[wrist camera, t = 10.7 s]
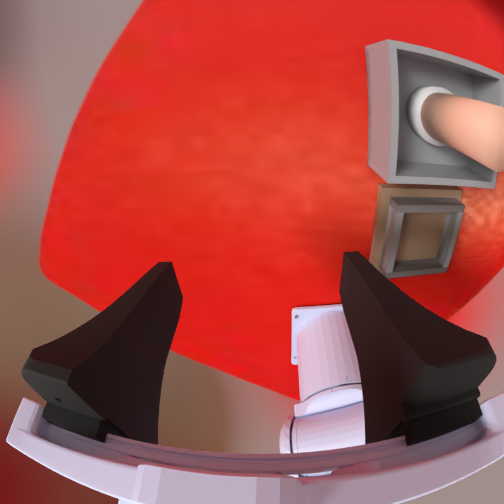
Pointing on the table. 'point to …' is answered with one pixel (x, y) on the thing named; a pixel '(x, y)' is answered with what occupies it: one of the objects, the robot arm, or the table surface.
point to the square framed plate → (415, 228)
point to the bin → (395, 120)
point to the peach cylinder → (458, 124)
